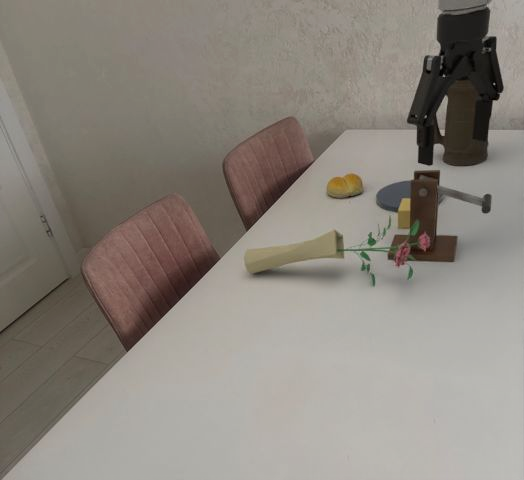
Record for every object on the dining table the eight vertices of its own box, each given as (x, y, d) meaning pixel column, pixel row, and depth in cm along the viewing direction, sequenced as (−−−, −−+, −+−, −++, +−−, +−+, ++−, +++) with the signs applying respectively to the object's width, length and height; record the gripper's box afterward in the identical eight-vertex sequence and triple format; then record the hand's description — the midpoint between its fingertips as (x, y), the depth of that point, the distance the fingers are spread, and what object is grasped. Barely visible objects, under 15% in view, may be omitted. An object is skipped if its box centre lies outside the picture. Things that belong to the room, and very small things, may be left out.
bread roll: (324, 189, 128) (323, 173, 125) (359, 183, 127) (359, 167, 125) (329, 201, 121) (328, 185, 119) (366, 195, 121) (365, 179, 118)
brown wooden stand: (457, 241, 98) (463, 166, 88) (453, 262, 92) (460, 184, 83) (394, 239, 102) (394, 168, 93) (387, 259, 97) (387, 185, 87)
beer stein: (492, 150, 129) (497, 64, 117) (488, 165, 122) (492, 76, 110) (431, 155, 136) (429, 74, 124) (423, 170, 129) (420, 86, 117)
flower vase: (273, 293, 108) (442, 267, 91) (247, 311, 98) (432, 286, 81) (259, 240, 104) (432, 202, 87) (231, 252, 94) (421, 212, 77)
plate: (446, 184, 118) (446, 179, 117) (439, 212, 108) (440, 207, 107) (382, 185, 124) (382, 180, 123) (370, 212, 113) (370, 207, 113)
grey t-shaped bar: (488, 204, 90) (494, 192, 88) (487, 217, 86) (493, 204, 84) (417, 183, 92) (421, 171, 90) (413, 195, 88) (418, 182, 87)
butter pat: (402, 215, 110) (402, 198, 107) (423, 215, 108) (423, 198, 106) (397, 228, 106) (397, 210, 103) (419, 228, 104) (419, 210, 101)
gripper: (498, -7, 82) (484, 127, 95) (384, 28, 74) (385, 169, 87) (540, -9, 77) (518, 133, 90) (422, 28, 69) (417, 179, 82)
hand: (453, 151), depth 89 cm, fingers open, 13 cm apart
